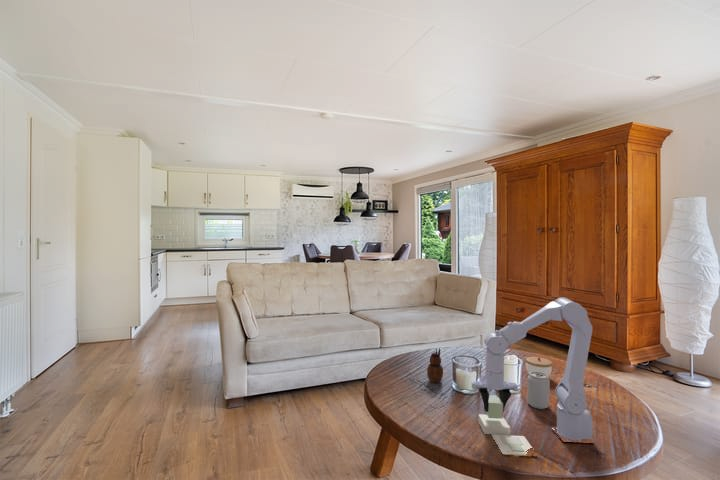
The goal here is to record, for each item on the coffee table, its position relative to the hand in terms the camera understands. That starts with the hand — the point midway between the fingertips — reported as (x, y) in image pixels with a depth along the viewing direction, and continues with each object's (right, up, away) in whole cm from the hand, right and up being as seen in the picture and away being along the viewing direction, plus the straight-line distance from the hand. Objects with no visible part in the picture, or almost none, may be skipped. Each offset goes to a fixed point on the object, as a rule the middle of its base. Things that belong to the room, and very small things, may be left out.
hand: (493, 410), depth 120 cm
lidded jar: (+37, -6, +44) cm, 58 cm away
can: (+23, -6, +17) cm, 29 cm away
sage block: (0, -1, 0) cm, 1 cm away
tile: (+2, -6, -10) cm, 12 cm away
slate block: (+4, -6, +12) cm, 14 cm away
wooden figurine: (-12, -5, +38) cm, 40 cm away
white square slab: (0, -6, 0) cm, 6 cm away
